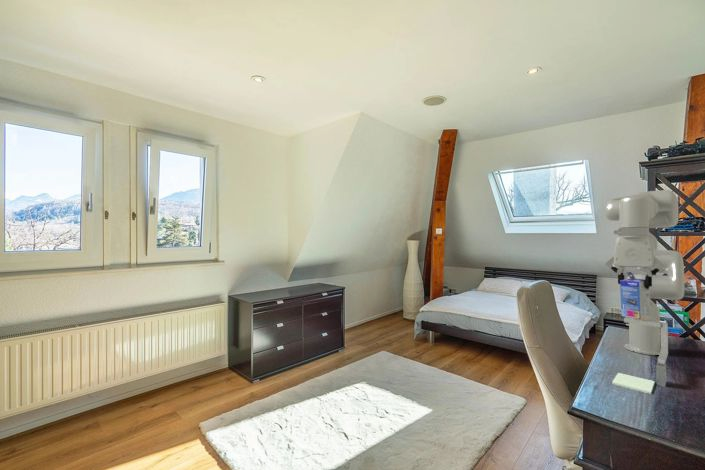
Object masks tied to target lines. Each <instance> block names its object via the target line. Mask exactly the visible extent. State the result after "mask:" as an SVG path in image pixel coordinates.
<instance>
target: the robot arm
mask: <svg viewBox="0 0 705 470" xmlns="http://www.w3.org/2000/svg"><path fill="white" fill-rule="evenodd" d="M604 215H605V217H606V219H607V220H609V221H611V222H613V221H614V222H618V229H616V230H613V234H614V235H618V237H615V242H614V248H613V249H614V252H613V256H612V257H611V258H610V259H608V260H607V261H606V262H605V266H606V267H608V268H609V269H611V270H612V271H613V272H614V273H616V275H617V284H618V285H620V280H625V275H624V270H625V269H626V268H631V269H632V270H633V271H636V272H641V273H635V274H634V273H633V275H634V277H635V279H644V280H645V288H646V289H649V298H650V316H648V317H645V320H650V321H657V322H661V319H660V316H661V314H660V312H661V311H660V308H659V306H658V305H657V304H656V303H655V302H654V301H652V299H656V300H657V299H659V300H670V301H679V300H681V299H683V298H684V296H685V287H686V286H685V269H684V267H685V265H684V259H683V256H682V254H681V252H678V251H676V250H668V249H667V250H666V249H665V250H664V249H658V239H657V237H656V236H655V235H654V234H652V233H651V232H650V229H659V228H660V229H664V228H665V229H667V228H668V229H669V228H674V227H675V226H677V224H679V217H680V215H679V202H678V197H677V194H676V193H675V192H674V191H673V190H670V189H663V190H662V189H661V190H649V191H638V192H635V193H633V194H632V195H627V196H622V197H617V198H612V199H609V200H608V201H607V202H606V204H605V206H604ZM642 273H643V274H642ZM645 273H646V274H645ZM660 274H662V275H660ZM665 274H666V275H665ZM630 276H631V277H632V275H631V274H630ZM626 279H631V278H630V277H629V275H627V277H626ZM628 336H629V338H628V340H629V342H628V343H625V344H624V348H625V349H627V351H628V350H629V351H631V352H633V351H634V353H638V354H641V353H642V354H641V355H648V356H655V355H659V354H660V351H661V327H654V326H647V325H640V324H633V323H628Z"/></svg>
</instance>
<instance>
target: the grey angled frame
mask: <svg viewBox="0 0 705 470" xmlns="http://www.w3.org/2000/svg"><path fill="white" fill-rule="evenodd" d="M623 323H628V324H629V323H633V324H640V325H647V326H654V327H660V348H661V351H660V354H659V356H657V362H658V363H660V364H666V361H667V358H668V355H669V336H668V335H669V332H668V330H669V327H668V322H664V321H663V322H662V321H660V322H657V321H650V320H645V318H643V319H635V318H629V317H624V318H623Z"/></svg>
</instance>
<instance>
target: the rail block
mask: <svg viewBox="0 0 705 470" xmlns="http://www.w3.org/2000/svg"><path fill="white" fill-rule="evenodd" d="M655 366H656V367H655V369H656V370H655V373H656V375H655V376H656V378H655V379H656V381H655V383H656V386H659V387H666V386H667V364H666V363H665V364H660V363H658V361H657V362H656V365H655Z"/></svg>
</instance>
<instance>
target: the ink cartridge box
mask: <svg viewBox="0 0 705 470" xmlns="http://www.w3.org/2000/svg"><path fill="white" fill-rule="evenodd" d="M626 274H627V276H629V277H630V278H631V279H625V278H624V280H620V284H619V287H620V308H621V309H620V312H621V317H624V318H625V317H628V318H635V319H643V318H645V317H648V316H650V298H649V289H646V288H645V280H644V279H635V277H634V273H632V272H631V271H630V272H626ZM630 275H632V277H631V276H630Z"/></svg>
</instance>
